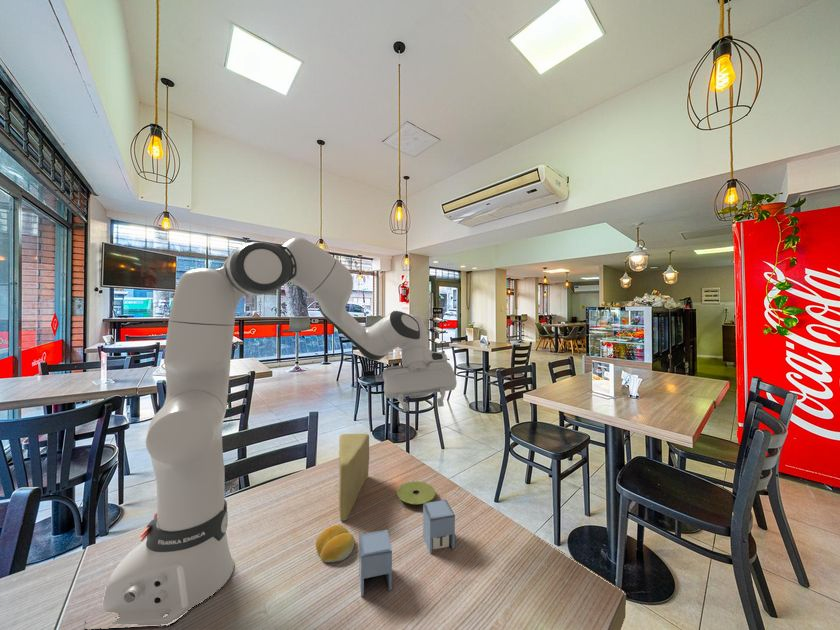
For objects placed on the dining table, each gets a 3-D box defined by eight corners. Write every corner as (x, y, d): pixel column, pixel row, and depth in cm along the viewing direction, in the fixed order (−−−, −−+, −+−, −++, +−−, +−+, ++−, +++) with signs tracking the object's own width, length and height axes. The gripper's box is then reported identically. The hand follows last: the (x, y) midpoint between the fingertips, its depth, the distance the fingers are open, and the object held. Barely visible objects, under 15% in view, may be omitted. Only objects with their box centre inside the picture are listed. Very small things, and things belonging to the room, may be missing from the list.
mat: (429, 514, 85) (429, 507, 85) (391, 505, 88) (391, 499, 88) (439, 491, 95) (439, 485, 95) (405, 484, 99) (405, 478, 99)
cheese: (362, 521, 82) (362, 464, 82) (324, 522, 81) (324, 465, 81) (369, 476, 104) (369, 431, 104) (339, 477, 103) (339, 432, 103)
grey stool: (429, 553, 71) (430, 519, 71) (423, 535, 77) (423, 503, 77) (454, 548, 72) (454, 514, 72) (445, 530, 78) (446, 499, 78)
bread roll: (327, 571, 66) (327, 552, 66) (311, 546, 73) (311, 530, 73) (361, 551, 72) (361, 534, 72) (343, 530, 78) (343, 514, 78)
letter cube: (432, 550, 72) (433, 532, 72) (428, 537, 76) (428, 521, 76) (449, 547, 73) (449, 529, 73) (443, 534, 77) (443, 518, 77)
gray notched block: (361, 596, 60) (361, 556, 60) (359, 571, 66) (359, 534, 66) (391, 590, 62) (391, 550, 62) (387, 565, 67) (387, 529, 67)
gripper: (380, 362, 89) (383, 408, 80) (451, 353, 90) (461, 398, 81) (383, 373, 93) (386, 417, 85) (450, 364, 94) (459, 407, 86)
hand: (423, 408), depth 83 cm, fingers open, 8 cm apart
